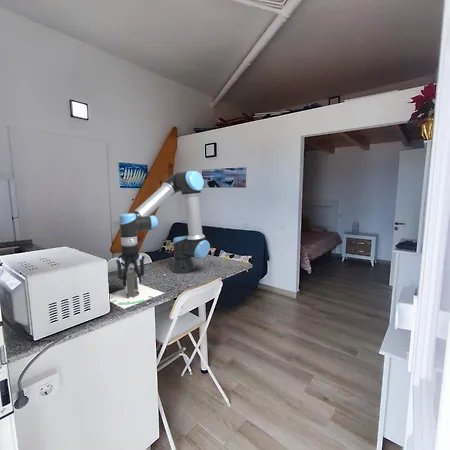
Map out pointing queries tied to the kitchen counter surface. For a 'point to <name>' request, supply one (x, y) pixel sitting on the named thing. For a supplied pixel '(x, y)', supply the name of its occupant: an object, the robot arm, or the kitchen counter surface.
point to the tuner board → (122, 298)
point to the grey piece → (131, 283)
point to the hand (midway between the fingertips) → (132, 290)
